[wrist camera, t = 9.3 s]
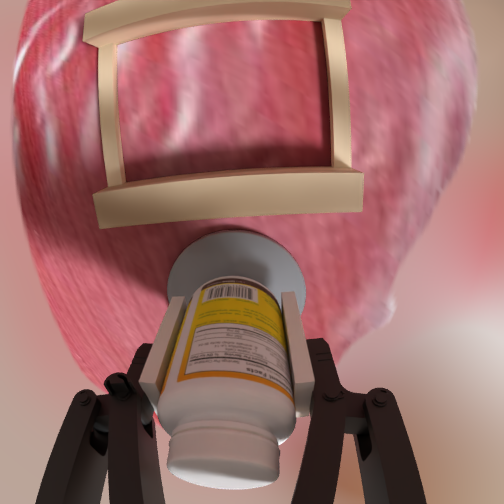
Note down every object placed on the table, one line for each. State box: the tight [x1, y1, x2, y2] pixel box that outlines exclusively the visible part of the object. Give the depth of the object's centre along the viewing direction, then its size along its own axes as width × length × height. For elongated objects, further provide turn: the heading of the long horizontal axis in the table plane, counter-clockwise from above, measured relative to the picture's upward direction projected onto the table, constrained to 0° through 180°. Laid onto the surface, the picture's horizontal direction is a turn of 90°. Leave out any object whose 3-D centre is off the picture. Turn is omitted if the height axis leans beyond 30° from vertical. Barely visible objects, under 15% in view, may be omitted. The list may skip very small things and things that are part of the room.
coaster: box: [167, 230, 306, 316], centre depth 18 cm, size 9×9×1 cm
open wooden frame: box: [83, 0, 364, 229], centre depth 12 cm, size 13×14×2 cm
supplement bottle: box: [157, 276, 296, 489], centre depth 12 cm, size 6×6×10 cm
